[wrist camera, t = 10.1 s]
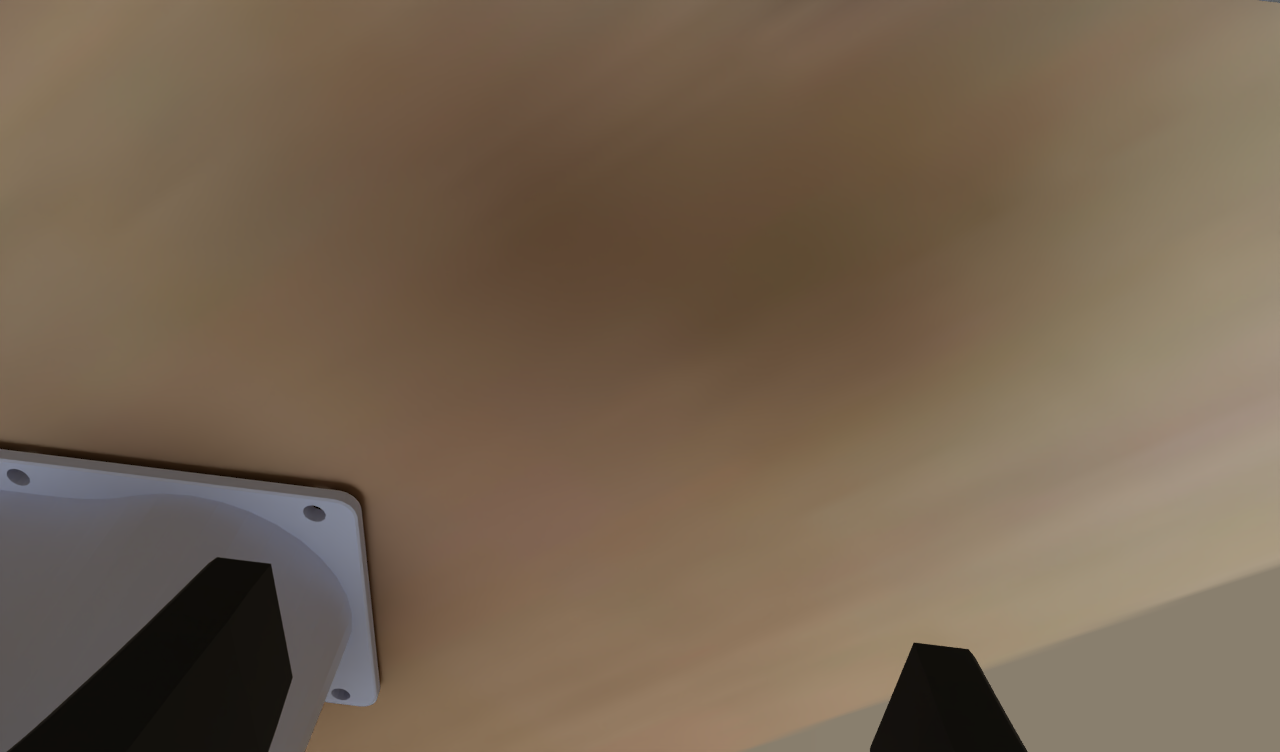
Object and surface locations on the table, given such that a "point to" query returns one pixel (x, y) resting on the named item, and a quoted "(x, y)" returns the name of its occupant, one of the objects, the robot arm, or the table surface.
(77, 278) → the table surface
